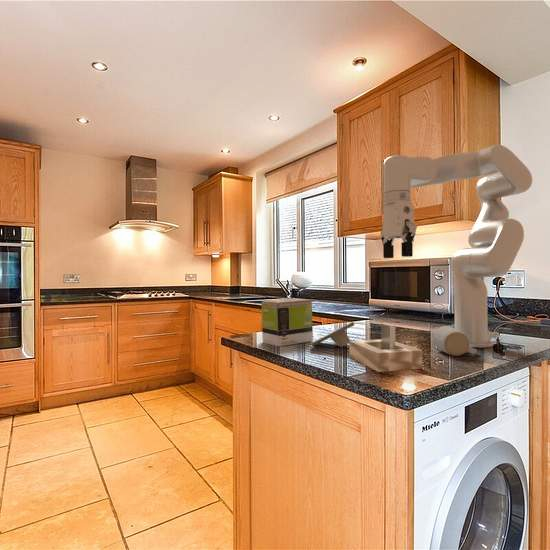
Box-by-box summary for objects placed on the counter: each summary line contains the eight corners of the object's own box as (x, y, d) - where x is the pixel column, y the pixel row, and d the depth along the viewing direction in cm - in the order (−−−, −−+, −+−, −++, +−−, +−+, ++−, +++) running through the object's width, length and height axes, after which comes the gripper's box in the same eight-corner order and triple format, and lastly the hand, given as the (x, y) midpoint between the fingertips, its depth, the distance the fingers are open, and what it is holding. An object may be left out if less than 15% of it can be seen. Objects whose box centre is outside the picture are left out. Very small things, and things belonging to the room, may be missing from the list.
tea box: (295, 337, 134) (295, 297, 134) (313, 342, 125) (313, 299, 125) (261, 342, 125) (260, 299, 125) (277, 347, 117) (277, 301, 117)
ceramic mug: (444, 357, 102) (445, 329, 101) (432, 350, 110) (432, 325, 110) (482, 357, 101) (483, 330, 101) (467, 351, 109) (468, 325, 109)
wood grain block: (386, 359, 99) (386, 323, 99) (395, 363, 95) (395, 325, 94) (372, 360, 98) (371, 323, 98) (380, 364, 94) (380, 326, 94)
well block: (387, 354, 105) (387, 339, 105) (422, 368, 90) (422, 350, 90) (349, 357, 102) (349, 341, 102) (378, 371, 87) (378, 353, 87)
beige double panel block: (328, 367, 107) (366, 333, 107) (309, 344, 109) (346, 311, 109) (329, 362, 123) (362, 333, 123) (312, 342, 125) (344, 314, 125)
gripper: (426, 193, 99) (427, 256, 99) (392, 205, 116) (392, 258, 116) (402, 192, 98) (402, 255, 98) (371, 204, 114) (371, 258, 115)
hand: (397, 257), depth 107 cm, fingers open, 9 cm apart
